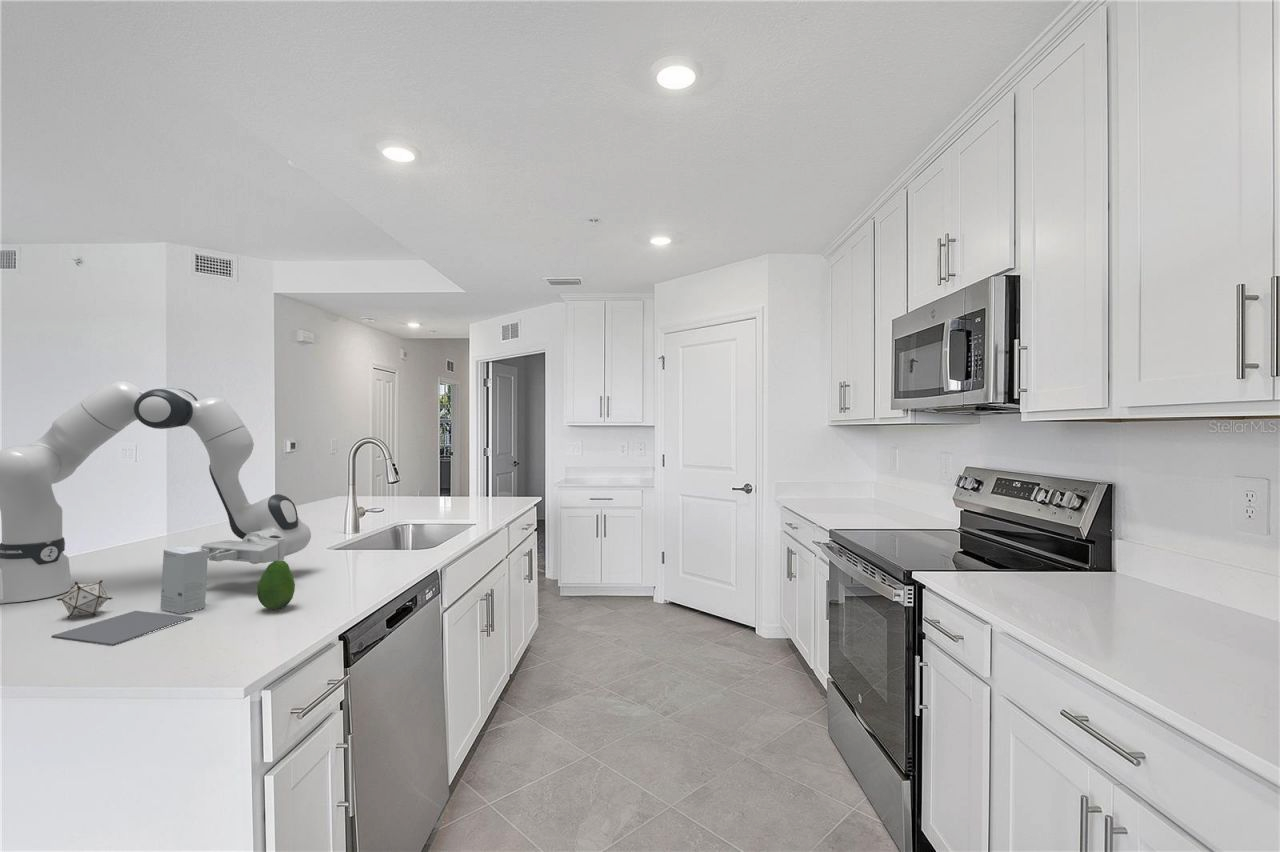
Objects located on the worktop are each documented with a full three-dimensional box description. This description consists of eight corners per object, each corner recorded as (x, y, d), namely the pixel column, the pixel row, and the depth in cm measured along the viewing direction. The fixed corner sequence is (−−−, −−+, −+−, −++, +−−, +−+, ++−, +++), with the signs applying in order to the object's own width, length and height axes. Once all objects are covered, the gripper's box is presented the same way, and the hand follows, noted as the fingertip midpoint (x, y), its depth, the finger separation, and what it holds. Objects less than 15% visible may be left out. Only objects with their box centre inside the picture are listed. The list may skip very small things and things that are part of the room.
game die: (85, 633, 139) (69, 607, 133) (58, 618, 140) (42, 591, 134) (125, 605, 146) (112, 579, 140) (99, 590, 147) (85, 564, 141)
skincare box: (159, 610, 145) (160, 549, 144) (186, 603, 150) (186, 544, 150) (182, 615, 142) (182, 552, 141) (208, 607, 147) (208, 547, 147)
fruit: (250, 615, 142) (250, 565, 142) (265, 604, 150) (266, 557, 150) (286, 614, 144) (286, 564, 143) (299, 603, 151) (300, 556, 151)
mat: (51, 637, 126) (51, 635, 126) (135, 612, 143) (135, 610, 143) (113, 645, 123) (113, 643, 123) (192, 619, 139) (192, 617, 139)
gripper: (228, 533, 169) (181, 542, 156) (289, 538, 164) (245, 548, 151) (228, 555, 169) (180, 567, 156) (288, 560, 165) (245, 573, 151)
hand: (213, 558), depth 153 cm, fingers closed
